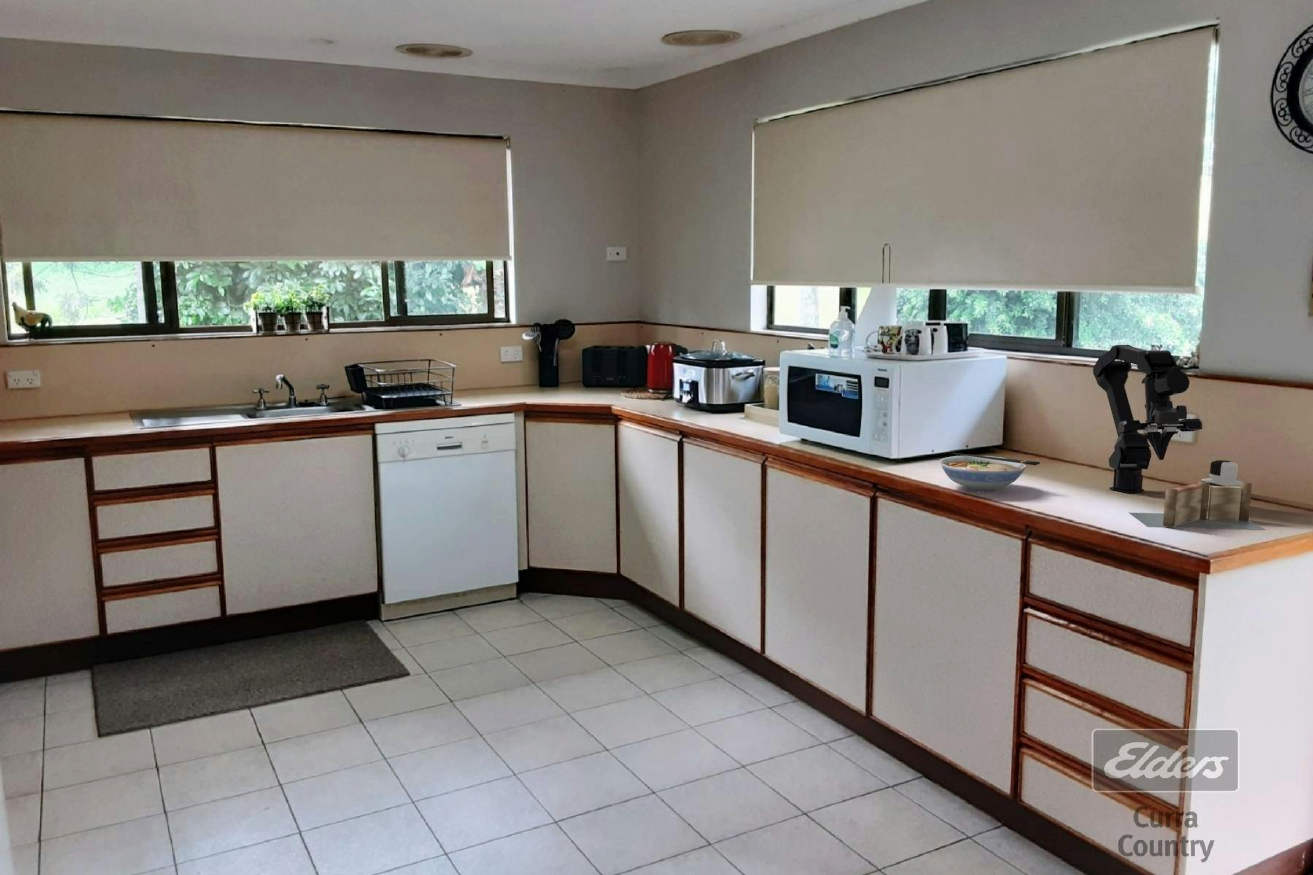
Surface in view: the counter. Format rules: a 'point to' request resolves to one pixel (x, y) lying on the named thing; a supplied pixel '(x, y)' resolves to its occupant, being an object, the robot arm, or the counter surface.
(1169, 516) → the fence gate
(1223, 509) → the fence fixed
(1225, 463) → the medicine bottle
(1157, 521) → the card
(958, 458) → the ramen bowl
